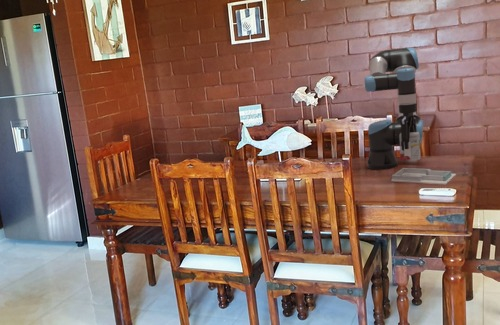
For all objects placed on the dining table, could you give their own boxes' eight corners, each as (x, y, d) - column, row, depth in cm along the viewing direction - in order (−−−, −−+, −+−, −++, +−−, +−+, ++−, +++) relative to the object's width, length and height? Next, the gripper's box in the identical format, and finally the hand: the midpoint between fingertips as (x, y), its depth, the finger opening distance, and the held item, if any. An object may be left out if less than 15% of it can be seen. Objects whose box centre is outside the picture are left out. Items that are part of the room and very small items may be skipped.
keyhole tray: (404, 172, 243) (403, 167, 242) (456, 175, 228) (455, 169, 228) (391, 181, 231) (391, 176, 230) (445, 184, 216) (445, 178, 216)
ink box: (400, 160, 230) (398, 134, 228) (401, 157, 235) (399, 132, 232) (419, 159, 227) (418, 133, 225) (420, 157, 231) (419, 131, 229)
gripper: (406, 101, 235) (409, 149, 240) (391, 107, 221) (394, 158, 225) (422, 100, 231) (425, 149, 235) (408, 106, 216) (411, 159, 221)
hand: (410, 154), depth 230 cm, fingers closed on ink box, 6 cm apart
